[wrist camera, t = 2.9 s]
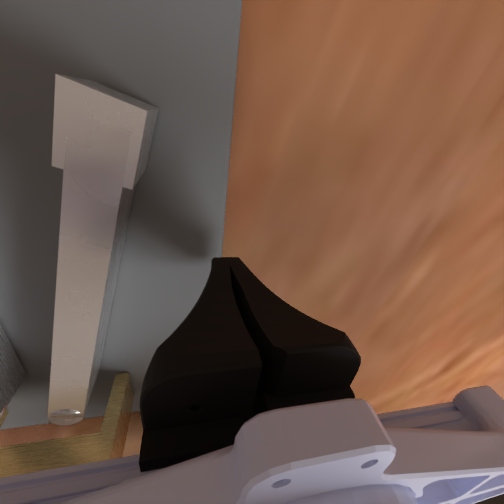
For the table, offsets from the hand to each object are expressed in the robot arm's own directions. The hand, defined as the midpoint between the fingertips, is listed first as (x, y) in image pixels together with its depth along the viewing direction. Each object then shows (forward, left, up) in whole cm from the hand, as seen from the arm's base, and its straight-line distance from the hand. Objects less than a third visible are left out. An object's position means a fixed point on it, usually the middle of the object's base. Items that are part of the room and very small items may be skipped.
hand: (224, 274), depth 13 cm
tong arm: (-6, -1, -1) cm, 6 cm away
